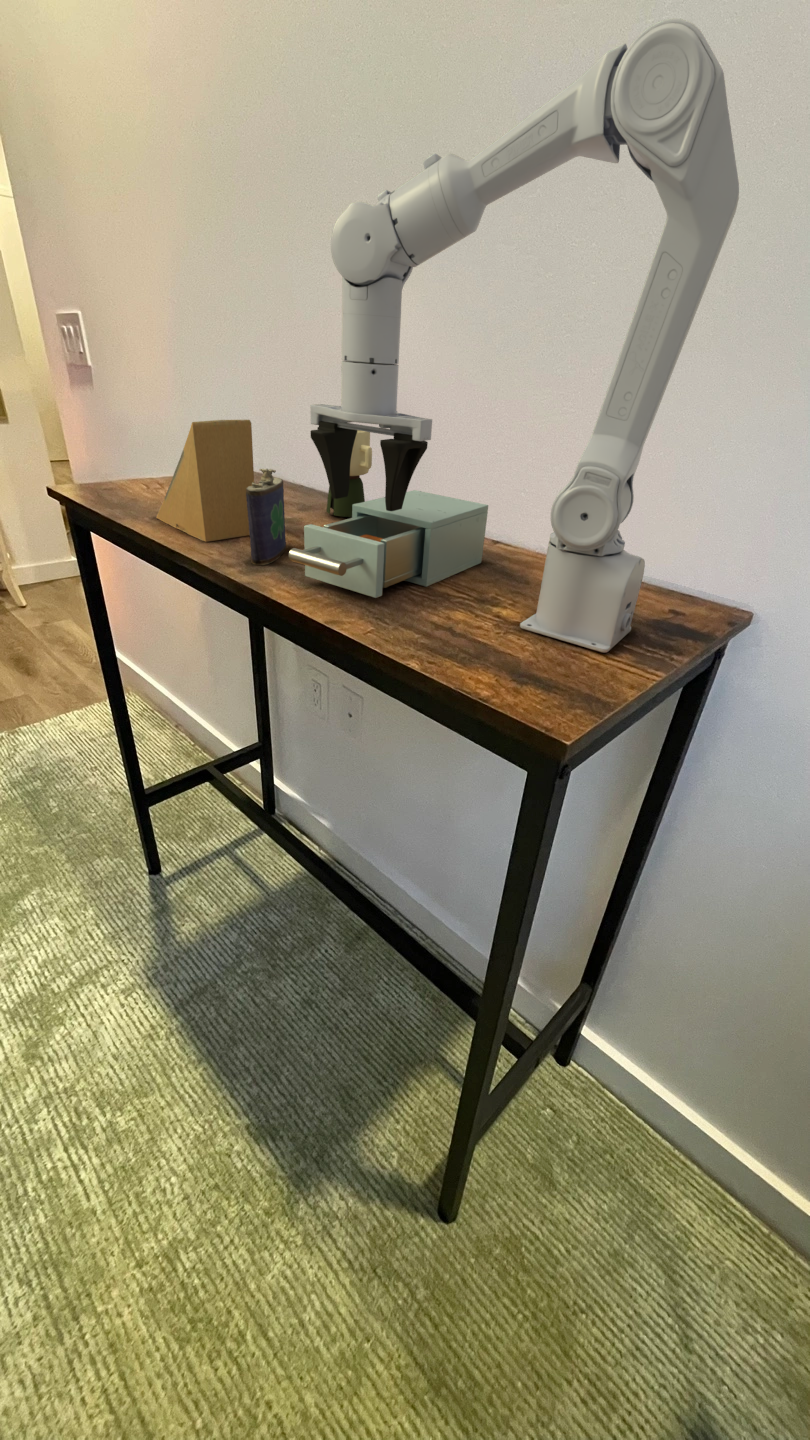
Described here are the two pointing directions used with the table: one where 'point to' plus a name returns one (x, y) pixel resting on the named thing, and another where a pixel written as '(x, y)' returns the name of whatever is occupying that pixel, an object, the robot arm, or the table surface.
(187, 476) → the sandwich container
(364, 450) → the character mug
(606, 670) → the table surface
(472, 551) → the cabinet
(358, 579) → the drawer
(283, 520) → the flask
